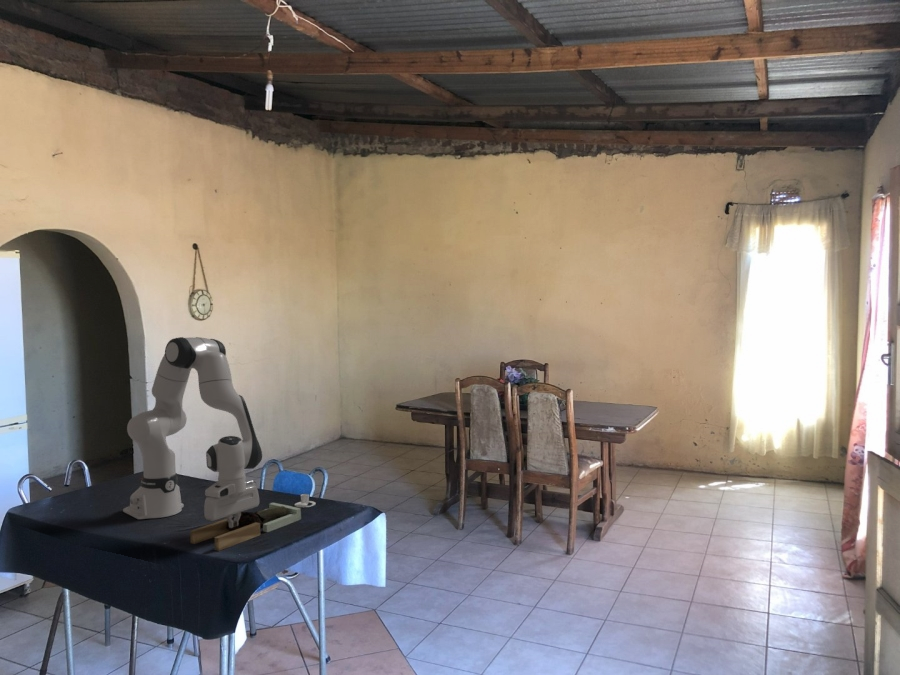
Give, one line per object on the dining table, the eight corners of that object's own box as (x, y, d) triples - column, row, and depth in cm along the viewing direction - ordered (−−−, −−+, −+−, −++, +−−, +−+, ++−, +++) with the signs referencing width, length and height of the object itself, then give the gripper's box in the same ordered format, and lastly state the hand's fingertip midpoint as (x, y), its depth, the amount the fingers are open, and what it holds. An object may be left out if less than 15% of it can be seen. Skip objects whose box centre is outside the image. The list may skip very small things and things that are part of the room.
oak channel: (190, 542, 226) (190, 530, 226) (232, 527, 240) (232, 516, 240) (219, 550, 218) (218, 538, 218) (260, 535, 233) (260, 523, 232)
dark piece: (279, 518, 250) (279, 500, 250) (290, 523, 245) (290, 505, 244) (224, 531, 236) (224, 512, 236) (235, 537, 230) (234, 518, 230)
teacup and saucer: (303, 510, 261) (303, 499, 260) (288, 507, 265) (288, 496, 265) (320, 504, 268) (319, 493, 268) (305, 501, 272) (304, 491, 272)
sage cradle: (239, 525, 243) (238, 514, 242) (273, 513, 256) (273, 502, 256) (267, 532, 235) (266, 520, 235) (301, 519, 249) (300, 508, 248)
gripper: (250, 477, 241) (251, 516, 242) (200, 491, 224) (202, 533, 225) (262, 480, 238) (264, 519, 238) (213, 494, 221) (214, 537, 221)
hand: (233, 526), depth 231 cm, fingers closed
